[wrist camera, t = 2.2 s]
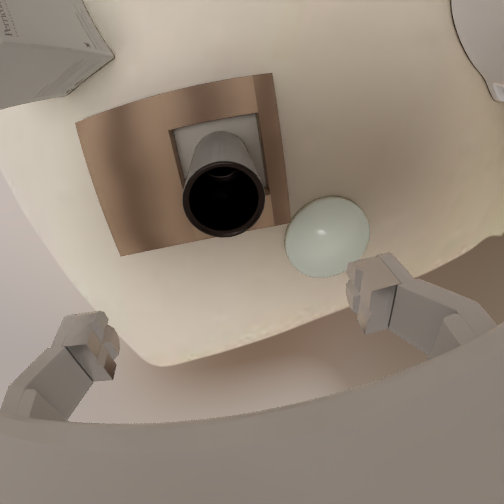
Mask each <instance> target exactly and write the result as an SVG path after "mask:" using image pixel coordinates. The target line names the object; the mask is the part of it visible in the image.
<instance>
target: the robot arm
mask: <svg viewBox="0 0 504 504" xmlns="http://www.w3.org/2000/svg"><path fill="white" fill-rule="evenodd" d="M451 5H452V13H453V19H454V23H455V26H456V30H457V33H458V36H459V38H460V41H461V43H462V45H463V47H464V49H465V51H466V53H467V55H468V57H469V58H470V60H471V62H472V63H473V65H474V66H475V67H476V69H477V70H478V71H479V72H480V73H481V75H482V76H483V77H484V79H485V81H486V83H487V86H488V88H489V91H490V93H491V95H492V97H493V99H494V100H495V101H501V102H504V0H451ZM347 275H348V276H349V278H350V280H349V281H348V283H347V284H346V295H347V300H348V303H349V306H350V308H351V310H352V311H353V312H355V313H357V314H358V323H359V324H360V326H361V328H362V330H363V332H364V334H370V333H374V332H377V331H381V330H384V329H388V328H389V330H390V331H392V332H393V333H395V334H397V335H398V336H400V337H401V338H403V339H404V340H406V341H407V342H409V343H410V344H412V345H413V346H415V347H416V348H418V349H419V350H421V351H423V352H424V353H426V354H427V355H429V357H428V360H427V361H426V362H423V363H420V364H418V365H416V366H414V367H411V368H408V369H406V370H403V371H401V372H398V373H395V374H393V375H390V376H387V377H384V378H381V379H379V380H376V381H373V382H370V383H367V384H364V385H360V386H357V387H354V388H351V389H348V390H344V391H341V392H338V393H334V394H331V395H327V396H323V397H320V398H316V399H312V400H308V401H304V402H300V403H296V404H291V405H286V406H282V407H277V408H272V409H267V410H262V411H256V412H251V413H245V414H239V415H232V416H225V417H217V418H209V419H200V420H191V421H179V422H165V423H144V424H142V423H141V424H99V423H77V422H69V421H68V418H69V417H70V415H71V414H72V412H73V411H74V410H75V408H76V407H77V405H78V404H79V402H80V401H81V399H82V398H83V397H84V395H85V394H86V392H87V391H88V390H89V388H90V387H91V385H92V384H93V381H106V380H113V378H114V374H115V369H116V363H115V361H114V359H115V358H116V357H117V356H118V354H119V350H120V342H119V338H118V335H117V333H116V331H115V329H114V328H112V327H111V326H109V325H108V318H107V316H106V314H105V313H104V312H102V311H94V312H86V313H79V314H72V315H67V316H65V317H64V319H63V321H62V323H61V325H60V327H59V330H58V332H57V334H56V336H55V339H54V341H53V344H52V346H51V348H47V349H46V350H45V351H44V352H43V353H42V354H41V355H40V356H39V357H38V358H37V359H36V360H35V361H34V362H33V363H32V364H31V365H30V366H29V367H28V368H27V369H26V370H25V371H24V372H23V373H22V374H21V375H20V376H19V377H18V378H17V379H16V380H15V381H14V382H13V383H12V384H11V385H10V386H9V387H8V390H7V392H6V395H5V398H4V401H3V403H2V406H1V410H0V504H504V322H503V323H502V324H500V325H498V326H497V325H496V324H495V322H494V321H493V320H492V319H491V317H490V316H489V315H488V314H487V313H486V312H485V311H484V309H482V307H481V306H480V305H479V304H478V302H475V301H473V300H471V299H468V298H466V297H464V296H461V295H459V294H456V293H454V292H451V291H449V290H446V289H444V288H441V287H439V286H436V285H434V284H431V283H429V282H426V281H424V280H421V279H416V280H415V279H414V278H413V276H412V275H411V274H410V273H409V272H408V271H407V270H406V268H405V267H404V266H403V265H402V264H401V263H400V262H399V261H398V259H397V258H396V257H395V256H394V255H393V254H392V253H389V252H388V253H384V254H381V255H377V256H375V257H371V258H367V259H362V260H358V261H354V262H350V263H348V266H347Z"/></svg>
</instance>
